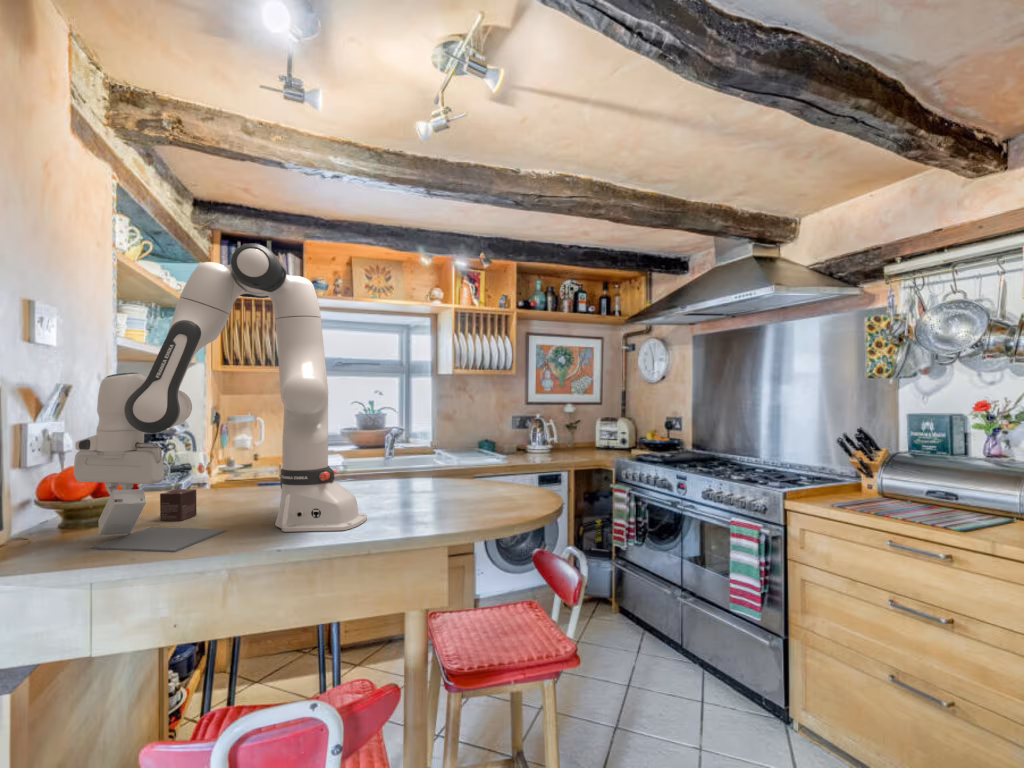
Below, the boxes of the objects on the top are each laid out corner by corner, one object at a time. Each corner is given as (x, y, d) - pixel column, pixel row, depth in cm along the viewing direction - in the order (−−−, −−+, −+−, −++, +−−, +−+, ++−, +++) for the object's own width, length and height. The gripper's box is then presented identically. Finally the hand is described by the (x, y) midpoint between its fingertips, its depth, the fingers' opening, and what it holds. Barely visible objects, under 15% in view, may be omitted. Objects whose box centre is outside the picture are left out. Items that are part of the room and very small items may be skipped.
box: (197, 515, 139) (197, 489, 139) (180, 521, 133) (180, 493, 133) (176, 515, 139) (176, 488, 139) (159, 521, 133) (159, 493, 133)
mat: (225, 531, 124) (225, 529, 124) (174, 552, 108) (174, 550, 108) (151, 528, 126) (151, 526, 126) (90, 548, 110) (90, 546, 110)
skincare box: (128, 519, 122) (145, 487, 117) (130, 535, 119) (147, 502, 115) (96, 521, 117) (112, 487, 113) (97, 537, 115) (114, 503, 110)
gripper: (172, 442, 120) (170, 500, 120) (94, 439, 122) (92, 497, 122) (150, 444, 114) (148, 506, 113) (68, 442, 116) (66, 502, 116)
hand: (118, 501), depth 118 cm, fingers closed
